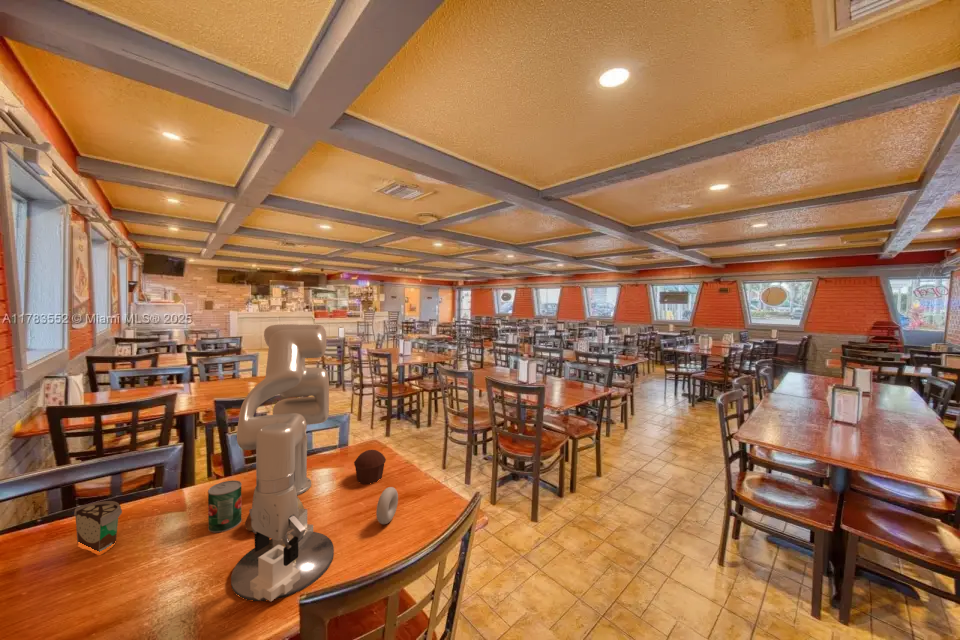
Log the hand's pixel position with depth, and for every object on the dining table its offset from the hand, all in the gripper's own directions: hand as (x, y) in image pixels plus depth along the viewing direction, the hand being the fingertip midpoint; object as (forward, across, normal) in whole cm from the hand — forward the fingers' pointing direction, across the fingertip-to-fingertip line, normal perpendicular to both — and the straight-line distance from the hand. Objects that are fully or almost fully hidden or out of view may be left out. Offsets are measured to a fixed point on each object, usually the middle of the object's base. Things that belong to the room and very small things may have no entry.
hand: (276, 554), depth 79 cm
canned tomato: (+9, -35, +9) cm, 37 cm away
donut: (+8, +6, +31) cm, 32 cm away
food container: (+9, -54, -10) cm, 55 cm away
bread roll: (+9, -22, +16) cm, 29 cm away
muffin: (+9, -17, +49) cm, 52 cm away
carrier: (+8, -5, +6) cm, 11 cm away
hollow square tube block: (+7, 0, 0) cm, 7 cm away
